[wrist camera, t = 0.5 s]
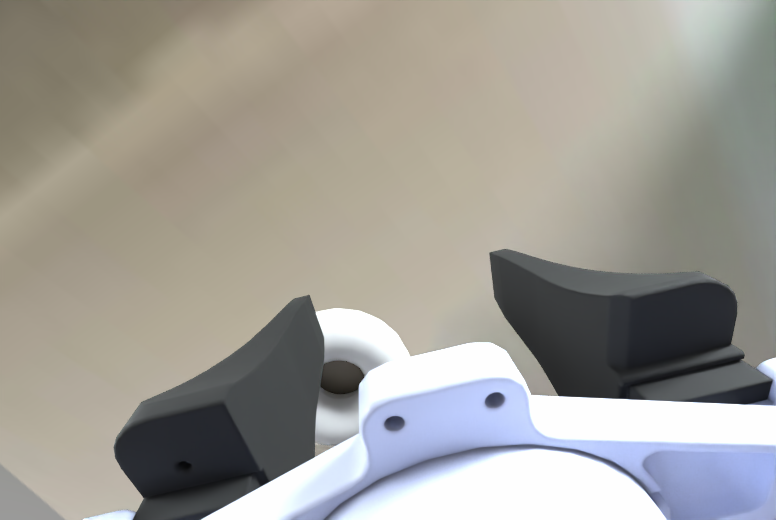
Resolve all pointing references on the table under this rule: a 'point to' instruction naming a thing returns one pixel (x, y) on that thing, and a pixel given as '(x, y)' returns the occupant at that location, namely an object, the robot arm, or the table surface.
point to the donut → (358, 346)
